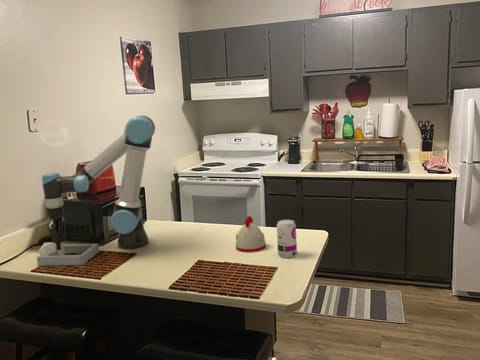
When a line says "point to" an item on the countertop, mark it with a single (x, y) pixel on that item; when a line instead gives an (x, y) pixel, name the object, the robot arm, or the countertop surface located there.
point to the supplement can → (286, 238)
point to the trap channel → (85, 254)
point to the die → (48, 249)
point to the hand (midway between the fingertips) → (61, 255)
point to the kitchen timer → (250, 237)
